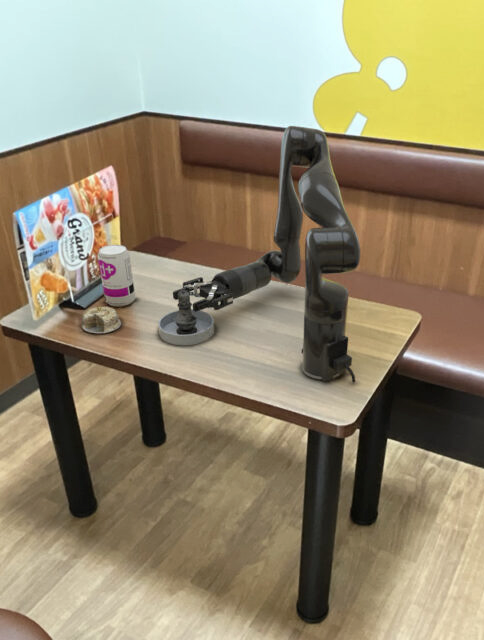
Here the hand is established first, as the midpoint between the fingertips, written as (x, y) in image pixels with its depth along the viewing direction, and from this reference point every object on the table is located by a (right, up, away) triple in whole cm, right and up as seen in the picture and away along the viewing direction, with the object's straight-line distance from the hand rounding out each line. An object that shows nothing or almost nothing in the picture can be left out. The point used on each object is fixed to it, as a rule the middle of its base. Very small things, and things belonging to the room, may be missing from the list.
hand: (183, 301), depth 149 cm
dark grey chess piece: (0, -7, +5) cm, 8 cm away
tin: (0, -7, +5) cm, 8 cm away
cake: (-22, -5, +8) cm, 24 cm away
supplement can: (-20, +3, +19) cm, 28 cm away
